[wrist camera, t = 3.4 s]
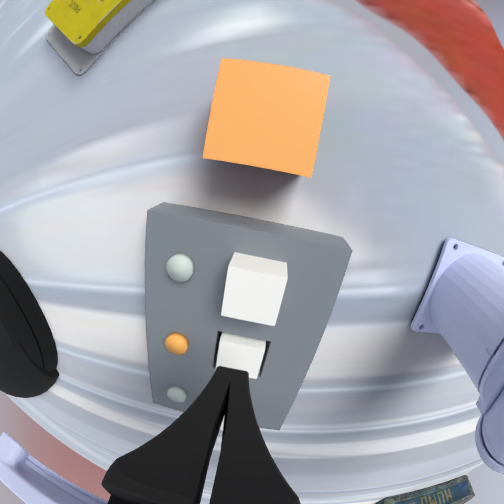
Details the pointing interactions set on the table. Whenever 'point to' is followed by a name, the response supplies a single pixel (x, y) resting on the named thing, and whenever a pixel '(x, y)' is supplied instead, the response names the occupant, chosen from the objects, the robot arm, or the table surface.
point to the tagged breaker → (241, 353)
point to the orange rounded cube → (266, 116)
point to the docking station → (23, 338)
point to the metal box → (436, 494)
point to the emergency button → (89, 27)
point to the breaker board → (208, 301)
